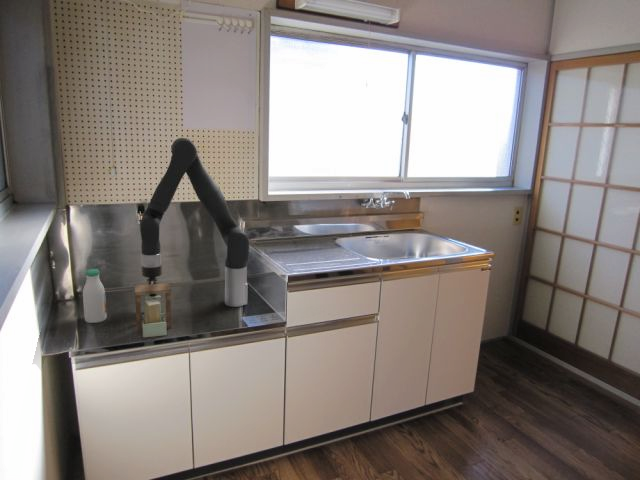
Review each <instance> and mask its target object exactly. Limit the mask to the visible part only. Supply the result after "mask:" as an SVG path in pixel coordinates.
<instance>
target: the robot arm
mask: <svg viewBox="0 0 640 480" xmlns="http://www.w3.org/2000/svg"><path fill="white" fill-rule="evenodd" d="M170 152H171V158H170V162H169V164H168V167H167V169H166V171H165V173H164V175H163V177H162V179H160V181H159V182H158V185H157V186H156V188H155V190H154V192H153V194H152V196H151V199H150V201H149V204H148V206H147V208H146V209H145V211H144V212H143V215H142V217H141V218H140V219H141V220H140V223H139V228H140V229H139V230H140V238H141V248H140V249H141V259H140V261H141V275H142V277H144V278H146V285H148V284H159V282H158V277H160V276H162V274H163V268H162V266H163V265H162V255H161V253H162V252H161V242H160V224H161V222H162V219H163V217H164V215H165V213H166V212H167V211H168V209H169V207H170V204H171V202H172V200H173V198H174V196H175V194H176V191H177V189H178V187H179V185H180V183H181V181H182V179H183V177H184V176H185V174H186V175H187V177H188V178H189V179H188V180H189V181H190V183H191V184H190V185H191V186H192V188H193V191H194V192H195V194H196V197H197V199H198V200H199V202H200V203H201V205H202V207H203V208H204V209H205V211H206V212H207V214H208V215H209V217H210V218H211V220H213V222H214V223H215V225H216V227H217V230H218V232H219V233H220V235H221V238H222V239H223V242H224V244H225V245H226V251H227V252H226V258H225V260H224V304H225V305H226V306H228V307H230V308H231V307H232V308H237V307H242V306H245V305H246V306H247V305H248V288H249V287H248V282H247V277H248V276H247V275H248V274H247V273H248V272H247V271H248V269H247V268H248V261H249V255H250V252H249V251H250V239H249V236H248V234H247V233H246V232H244V231H243V229H242V228H240V226H239V225H238V224H237V222H236V221H235V219H234V218H233V216H232V214H231V212H230V209H229V206H228V202H227V200H226V198H225V196H224V194H223V192H222V190H221V189H220V187H219V185H218V184H217V183H216V181H215V180H214V178H213V176H212V175H211V174H210V172H208V171H207V169H206V168H205V166H204V165H203V163H202V161H201V158H200V156H199V154H198V149H197V145H196V144H195V143H194V141H192V140H190V139H188V138H184V137H178V138H177V139H175V140H174V141H173V143H172V144H171V150H170ZM149 296H157V294H148V297H149Z"/></svg>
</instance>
